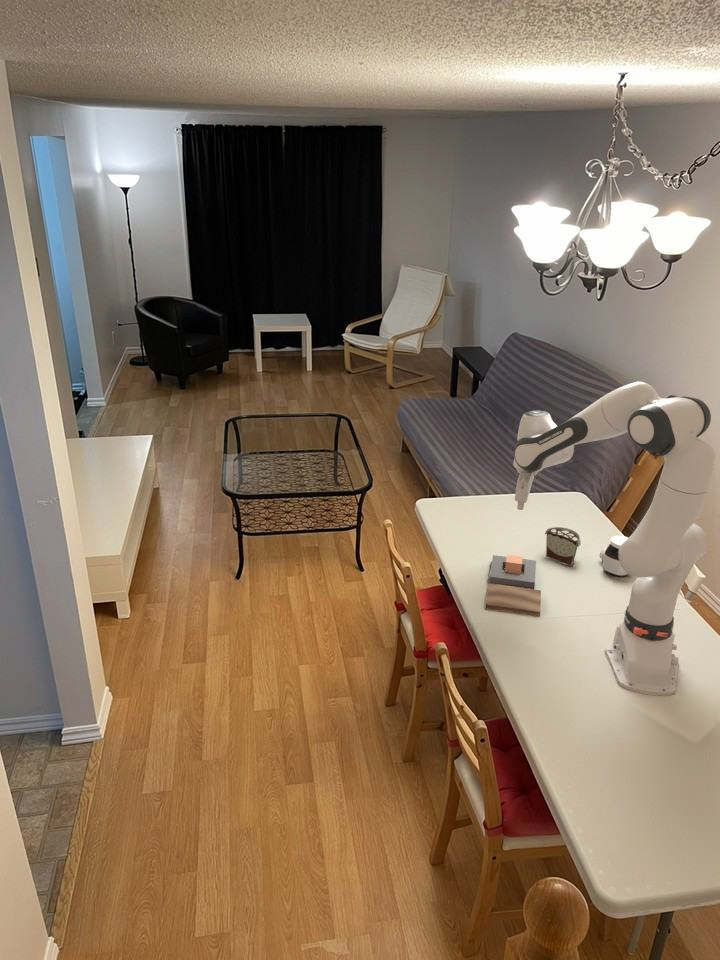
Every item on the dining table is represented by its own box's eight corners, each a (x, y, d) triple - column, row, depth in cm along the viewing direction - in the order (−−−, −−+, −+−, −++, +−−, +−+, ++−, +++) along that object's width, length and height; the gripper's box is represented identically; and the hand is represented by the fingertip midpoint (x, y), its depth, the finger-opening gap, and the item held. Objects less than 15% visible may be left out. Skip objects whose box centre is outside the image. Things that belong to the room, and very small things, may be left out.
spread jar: (618, 582, 235) (624, 550, 230) (587, 568, 242) (592, 537, 238) (638, 569, 242) (644, 538, 237) (607, 556, 250) (613, 525, 245)
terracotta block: (520, 580, 235) (521, 564, 233) (504, 578, 236) (505, 562, 234) (520, 572, 239) (522, 556, 237) (505, 570, 240) (506, 554, 238)
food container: (584, 561, 246) (588, 534, 242) (575, 568, 242) (579, 541, 238) (551, 548, 254) (554, 522, 250) (542, 555, 250) (545, 528, 246)
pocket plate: (534, 589, 230) (535, 582, 229) (489, 583, 233) (489, 576, 232) (535, 567, 242) (536, 560, 241) (492, 561, 245) (492, 555, 244)
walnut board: (539, 616, 217) (540, 611, 216) (485, 608, 220) (485, 604, 219) (540, 594, 227) (541, 590, 227) (488, 587, 231) (488, 583, 230)
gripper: (535, 477, 211) (528, 519, 218) (543, 450, 229) (536, 489, 235) (513, 473, 213) (507, 515, 219) (522, 446, 231) (516, 486, 237)
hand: (522, 501), depth 227 cm, fingers open, 8 cm apart
